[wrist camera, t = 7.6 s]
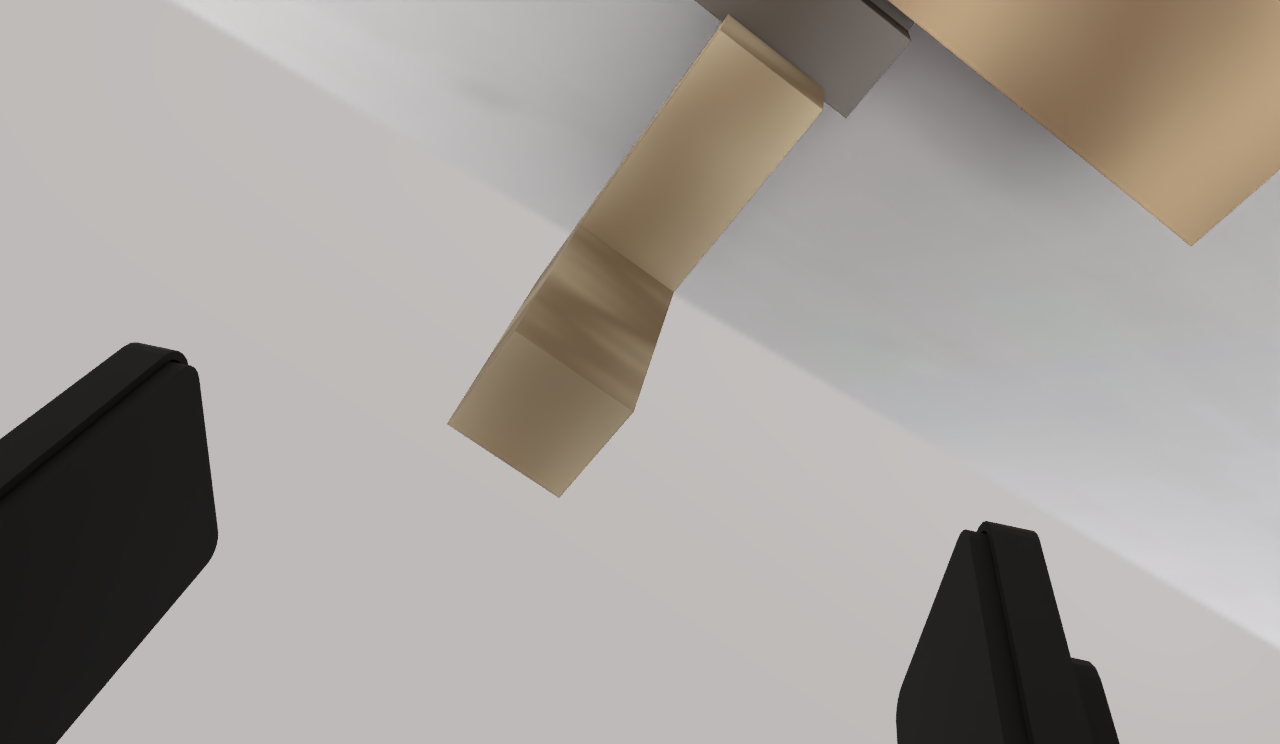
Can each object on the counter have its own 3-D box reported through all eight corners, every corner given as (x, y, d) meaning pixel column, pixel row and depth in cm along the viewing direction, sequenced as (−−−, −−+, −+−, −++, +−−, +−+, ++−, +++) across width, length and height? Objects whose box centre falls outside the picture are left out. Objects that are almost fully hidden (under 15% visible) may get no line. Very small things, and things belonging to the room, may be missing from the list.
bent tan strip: (823, 89, 25) (818, 197, 18) (624, 335, 29) (559, 498, 22) (728, 14, 24) (685, 95, 17) (540, 276, 29) (446, 424, 22)
